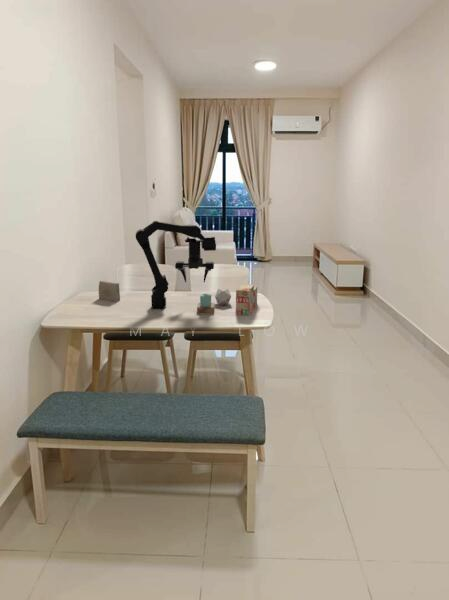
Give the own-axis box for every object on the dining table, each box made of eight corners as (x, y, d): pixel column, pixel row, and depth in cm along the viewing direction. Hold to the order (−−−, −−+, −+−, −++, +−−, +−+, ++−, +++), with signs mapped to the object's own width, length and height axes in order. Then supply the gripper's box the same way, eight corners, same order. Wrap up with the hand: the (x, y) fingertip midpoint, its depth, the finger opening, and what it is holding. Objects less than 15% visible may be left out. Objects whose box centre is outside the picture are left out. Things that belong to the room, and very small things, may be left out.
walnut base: (197, 313, 212) (196, 307, 211) (198, 308, 219) (198, 302, 219) (213, 313, 211) (213, 307, 211) (214, 308, 219) (214, 303, 218)
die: (225, 308, 222) (235, 292, 223) (210, 299, 222) (220, 283, 223) (225, 309, 230) (234, 294, 231) (211, 301, 231) (220, 285, 231)
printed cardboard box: (245, 303, 231) (245, 279, 227) (257, 303, 229) (257, 280, 226) (235, 314, 211) (235, 289, 207) (248, 315, 209) (249, 290, 206)
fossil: (120, 300, 234) (119, 282, 231) (116, 302, 230) (115, 284, 228) (103, 297, 239) (102, 280, 236) (98, 299, 236) (97, 281, 233)
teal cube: (200, 306, 212) (200, 296, 211) (200, 303, 217) (200, 293, 216) (210, 306, 212) (210, 296, 211) (211, 303, 217) (211, 293, 216)
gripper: (173, 253, 210) (174, 285, 214) (212, 253, 210) (213, 286, 214) (176, 249, 221) (177, 280, 225) (213, 250, 221) (213, 281, 225)
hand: (195, 282), depth 222 cm, fingers open, 9 cm apart
